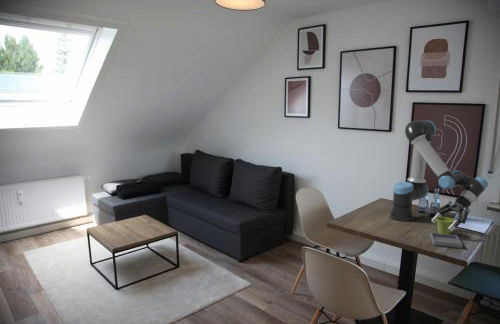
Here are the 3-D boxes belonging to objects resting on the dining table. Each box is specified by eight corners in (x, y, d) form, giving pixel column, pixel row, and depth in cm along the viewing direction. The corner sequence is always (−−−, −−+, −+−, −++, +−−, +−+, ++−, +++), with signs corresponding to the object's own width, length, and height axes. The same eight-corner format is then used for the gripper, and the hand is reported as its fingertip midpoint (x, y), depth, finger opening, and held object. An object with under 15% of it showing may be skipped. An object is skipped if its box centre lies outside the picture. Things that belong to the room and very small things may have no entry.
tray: (433, 245, 184) (434, 241, 183) (429, 236, 196) (430, 232, 196) (462, 248, 180) (462, 244, 179) (456, 239, 192) (456, 235, 191)
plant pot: (431, 230, 206) (432, 216, 204) (446, 230, 207) (447, 216, 205) (441, 236, 197) (442, 222, 195) (456, 235, 197) (458, 221, 196)
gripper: (487, 209, 190) (461, 237, 189) (452, 198, 214) (429, 222, 213) (480, 201, 188) (453, 229, 187) (446, 190, 212) (422, 215, 211)
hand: (440, 225), depth 200 cm, fingers open, 13 cm apart
